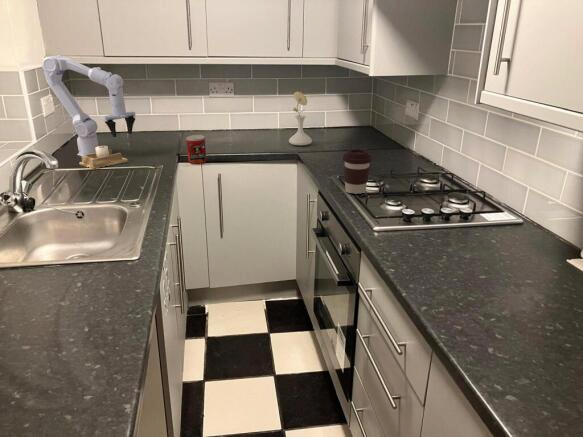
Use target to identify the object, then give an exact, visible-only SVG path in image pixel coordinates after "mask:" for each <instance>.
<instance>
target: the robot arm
mask: <svg viewBox="0 0 583 437" xmlns="http://www.w3.org/2000/svg"><path fill="white" fill-rule="evenodd" d="M41 69H42V70H43V73H44V77H45V81H46V83H47V85H48V87H49V88H50V89H51V90H52V92H53V93H54V95H55V96H56V98H57V99H58V100H59V102H60V104H62V107H64V109H65V110H66V111H67V113H68V115H69V116H70V117H71V119H72V126H73V128H74V130H75V134H76V135H77V136H78V137H77V139H76V144H77V148H78V153H77V156H79V157H81V156H82V155H87V154H91V153H96V149H95V148H96V147H98V146H99V142H98V136H97V130H98V124H97V122H96V121H95V120H94V119H92V118H91V117H90V115H88V114H87V113H85V112H84V111H83V109H82V108H81V107H80V105H79V104H78V102H77V101H76V99H75V98H74V96H73V95H72V94H71V92H70V91H69V89H68V88H67V87H66V85H65V84H64V82H63V81H62V79H63V74H64V73H65V71H67V70H71V71H74V72H75V73H79V74H82V75H85V76H86V77H88V78H89V80H90V81H91V82H93V83H97V84H99V85H102V86H105V87H106V89H107V90H108V96H109V101H110V102H109V103H110V108H111V114H108V115H104V116H102V120H103V122H104V123H105V124H106V127H108V129H109V131H110V133H111V135H112V137H114V138H116V137H117V130H116V123H117V122H116V120H122V119H124V120H125V125H126V129H127V134H130V135H132V133H133V129H134V128H133V127H134V124H135V121H136V117H137V116H136V112H135V111H126V105H125V104H126V102H125V97H124V92H123V91H124V90H123V86H124V79H123V78H122V76H121V75H119V74H113V73H112V72H110V71H109V72H108V71H105V70H102V67H100V66H98V67H92V68H91V67H88V66H86V65H84V64H82V63H79V62H78V61H75V60H74V59H71V58H69V57H67V56H63V55H61V54H57V55H52V56H46V57H45V58H43V59H42V63H41Z"/></svg>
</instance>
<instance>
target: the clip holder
mask: <svg viewBox="0 0 583 437" xmlns="http://www.w3.org/2000/svg"><path fill="white" fill-rule="evenodd" d="M108 151H109V155H107V156H103V157H99V158H97V155H96V153H91V154H87V155H82V156H80V157H81V161H80V162H79V165H80V166H83V167H86V168H88V167H89V168H88V169H91V168H92V169H91V170H94V171H95V170H97V169H96V168H99V169H101V168H100V167H103V168H105V166H107V167H110V165H111V166H114V165H118V164H122V163H126V162H129V159H128V158H125V157H123V156H122V153H121V152H117V153H113V152H112V149H109V148H108Z"/></svg>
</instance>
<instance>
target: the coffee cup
mask: <svg viewBox="0 0 583 437" xmlns="http://www.w3.org/2000/svg"><path fill="white" fill-rule="evenodd" d="M342 160H343V162H344V165H343V169H344V170H343V172H344V173H343V174H344V175H343V176H344V184H345V185H344V186H345V188H344V190H345V193H346V192H348V193H364V194H365V193H366V191H367V184H368V180H369V176H370V175H369V174H370V163H371V162H372V160H373V157H372V154H369V153H368V151H367V150H365V149H360V148H359V149H358V148H354V149H349V150H348V151H347V153H344V154H343V155H342ZM348 193H347V194H348Z"/></svg>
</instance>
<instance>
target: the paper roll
mask: <svg viewBox="0 0 583 437" xmlns="http://www.w3.org/2000/svg"><path fill="white" fill-rule="evenodd" d="M95 149H96V155H97V158H99V157H103V156H107V155H109V151H108V150H109V147H108V145H100V146H99V145H98V147H96V148H95Z"/></svg>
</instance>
